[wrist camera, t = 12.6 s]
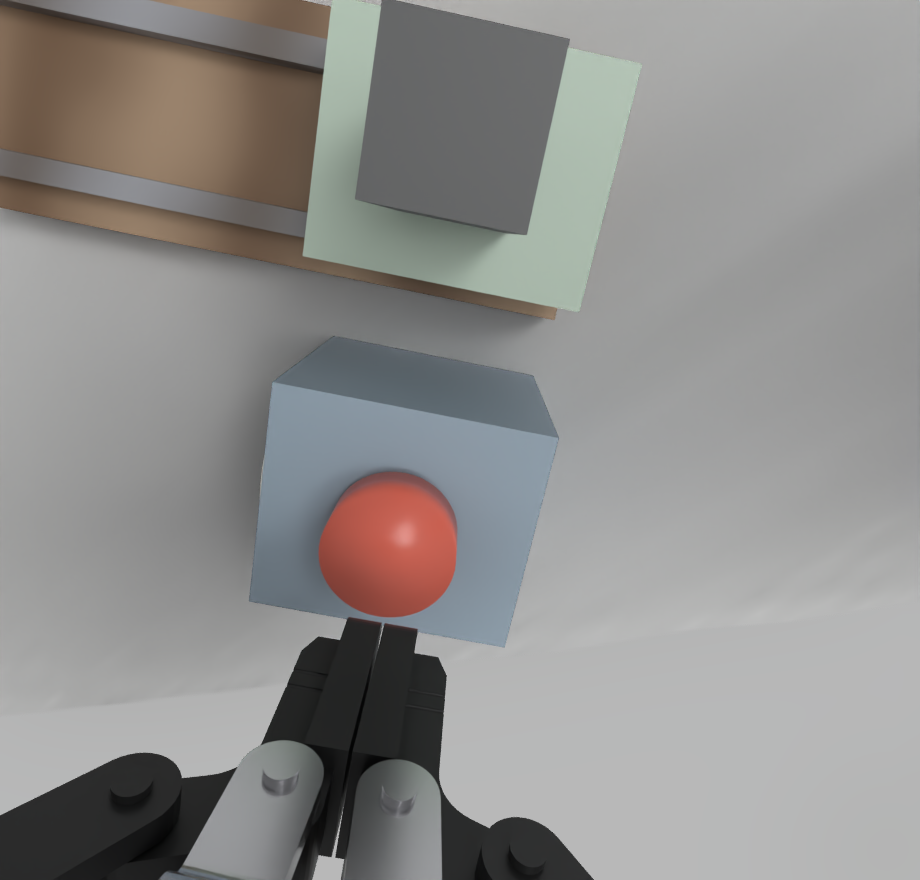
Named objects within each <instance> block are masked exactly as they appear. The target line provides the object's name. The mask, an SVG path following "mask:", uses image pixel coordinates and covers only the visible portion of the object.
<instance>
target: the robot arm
mask: <svg viewBox="0 0 920 880" xmlns="http://www.w3.org/2000/svg"><path fill="white" fill-rule="evenodd" d="M381 628H382V623H381V622H376V621H370V620H364V619H359V618H353V617H348V619H347V622H346V625H345V628H344V630H343V633H342V636H341V639H340V640H335V639H329V638H324V637H317V638H316V639H315V640H314V641H313V642H311V643H310V644H309V645H308V646H307V647H305V648H304V649H303V650H302V651H301V653H300V656H299V658H298V660H297V663H296V665H295V667H294V671H293V672H292V674H291V677H290V679H289V681H288V684H287V687H286V688H285V691H284V693H283V695H282V698H281V700H280V702H279V705H278V707H277V710H276V711H275V714H274V716H273V719H272V721H271V723H270V725H269V728H268V730H267V733H266V735H265V737H264V740H263V742H262V744H261V745H260V746H258V747H257V748H255V749H253V750H252V751H251V752H249V753H248V754H247V755H246V756H245V757H244V758H243V759H242V761H241V763H240V764H239V766H238V767H236V768H234V769H232V770H229V771H226V772H223V773H220V774H214V775H208V776H199V777H190V778H182V776H181V773H180V770H179V769H178V767H177V765H176V764H175V763H174V762H173V761H171V760H170V759H168V758H167V757H164V756H162V755H158V754H153V753H135V754H130V755H126V756H122V757H119V758H117V759H115V760H112V761H110V762H108V763H106V764H104V765H102V766H100V767H98V768H96V769H94V770H92V771H90V772H88V773H86V774H84V775H81V776H80V777H78V778H75V779H73V780H71V781H69V782H67V783H65V784H63V785H61V786H59V787H57V788H55V789H53V790H51V791H49V792H47V793H45V794H43V795H41V796H39V797H37V798H35V799H33V800H31V801H29V802H27V803H24V804H22V805H20V806H18V807H16V808H14V809H12V810H10V811H8V812H6V813H4V814H2V815H0V880H312V878H313V874H314V871H315V867H316V863H317V859H318V855H321V856H328V857H331V856H332V852H333V849H334V844H335V840H336V836H337V832H338V828H339V824H340V819H341V815H342V820H341V827H340V832H339V838H338V845H337V851H336V858H341V859H344V864H343V870H342V876H341V880H593V878H592V877H591V876H590V875H589V874H588V872H586V870H585V869H584V868H583V867H582V866H581V864H580V863H579V862H578V861H577V860H576V858H575V857H574V856H573V855H572V854H571V853H570V851H569V850H568V849H567V848H566V847H565V846H564V844H563V843H562V842H561V841H560V840H559V839H558V837H557V836H555V834H554V833H553V832H551V831H550V830H549V829H548V828H546V827H545V826H543V825H542V824H540V823H538V822H535V821H533V820H530V819H526V818H520V817H511V818H506V819H503V820H500V821H498V822H496V823H495V824H494V825H492V826H491V827H490V828H487V827H486V826H483V825H481V824H479V823H477V822H475V821H473V820H471V819H469V818H468V817H466V816H464V815H463V814H462V813H460V812H459V811H457V810H456V809H455V808H454V807H453V806H452V805H451V803H450V802H449V801H448V799H447V798H446V796H445V795H444V793H443V791H442V788H441V785H440V781H439V766H440V753H441V741H442V727H443V712H444V702H445V688H446V677H447V675H446V673H445V671H444V669H443V667H442V665H441V663H440V661H439V658H438V657H433V656H427V655H421V654H415V653H414V650H415V644H416V638H417V631H418V629H416V628H410V627H405V626H399V625H393V624H388V623H385V624H384V628H383V632H382V636H381V640H380V634H381ZM379 640H380V644H379ZM378 646H379V648H378ZM343 807H344V808H343ZM342 811H343V814H342Z"/></svg>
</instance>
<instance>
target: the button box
mask: <svg viewBox="0 0 920 880" xmlns="http://www.w3.org/2000/svg"><path fill="white" fill-rule="evenodd" d="M558 440H559V437H558V435H557V432H556V430H555V427H554V425H553V423H552V420H551V418H550V415H549V413H548V410H547V408H546V406H545V403H544V401H543V398H542V396H541V393H540V391H539V389H538V386H537V384H536V381H535V379H534V376H532V375H527V374H522V373H517V372H512V371H507V370H502V369H497V368H492V367H487V366H482V365H477V364H472V363H467V362H462V361H457V360H452V359H447V358H442V357H437V356H432V355H427V354H422V353H417V352H412V351H407V350H402V349H397V348H391V347H386V346H381V345H376V344H371V343H366V342H361V341H356V340H351V339H346V338H341V337H336V336H333V337H332V338H330V339H329V340H328V341H326V342H325V343H324V344H322V345H321V346H320V347H318V348H317V349H316V350H314V351H313V352H312V353H310V354H309V355H308V356H306V357H305V358H304V359H302V360H301V361H300V362H299V363H297V364H296V365H295V366H293V367H292V368H291V369H289V370H288V371H287V372H285V373H284V374H283V375H281V376H280V377H279V378H277V379H276V380H275V381H273V382H272V391H271V400H270V409H269V419H268V428H267V437H266V447H265V454H264V459H263V465H262V472H261V480H260V503H259V512H258V522H257V531H256V541H255V550H254V559H253V569H252V578H251V588H250V597H249V601H250V602H255V603H261V604H266V605H272V606H277V607H283V608H288V609H294V610H300V611H305V612H311V613H316V614H322V615H327V616H333V617H338V618H344V619H348V617H353V618H359V619H364V620H370V621H376V622H381V623H382V625H383V626H384V624H385V623H388V624H393V625H399V626H405V627H410V628H416V629H418V631H417V632H421V633H427V634H432V635H438V636H443V637H449V638H455V639H460V640H466V641H471V642H477V643H482V644H488V645H493V646H499V647H504V648H505V644H506V640H507V636H508V632H509V628H510V625H511V621H512V617H513V613H514V609H515V605H516V601H517V598H518V594H519V590H520V586H521V582H522V578H523V574H524V571H525V567H526V563H527V559H528V555H529V551H530V547H531V544H532V540H533V536H534V532H535V528H536V524H537V520H538V517H539V513H540V509H541V505H542V501H543V497H544V494H545V490H546V486H547V482H548V478H549V474H550V470H551V467H552V463H553V459H554V455H555V451H556V447H557V443H558ZM382 472H402V473H407V474H411V475H415V476H417V477H420V478H422V479H424V480H426V481H428V482H429V483H431V484H432V485H433V486H435V487H436V488H437V489H438V490H439V491H440V492H441V493H442V494H443V495H444V496H445V497H446V499H447V500H448V502H449V503H450V505H451V507H452V509H453V511H454V514H455V517H456V521H457V553H456V566H455V572H454V575H453V578H452V581H451V583H450V585H449V587H448V588H447V590H446V591H445V593H444V594H443V595H442V596H441V597H440V598H439V599H438V600H437V601H436V602H435V603H433V604H432V605H431V606H429V607H428V608H426V609H424V610H422V611H420V612H417V613H414V614H412V615H407V616H403V617H378V616H373V615H369V614H366V613H363V612H361V611H358V610H356V609H354V608H352V607H351V606H349V605H348V604H346V603H345V602H344V601H342V600H341V599H340V598H339V597H338V596H337V595H336V594H335V593H334V592H333V591H332V590H331V588H330V587H329V585H328V584H327V582H326V580H325V578H324V576H323V574H322V571H321V568H320V563H319V554H318V553H319V543H320V539H321V535H322V533H323V530H324V528H325V526H326V524H327V522H328V520H329V518H330V516H331V514H332V512H333V510H334V508H335V506H336V504H337V503H338V501H339V499H340V497H341V496H342V495H343V493H344V492H345V491H346V490H347V489H348V488H349V487H350V486H352V485H353V484H354V483H356V482H357V481H359V480H361V479H362V478H364V477H367V476H370V475H373V474H377V473H382Z"/></svg>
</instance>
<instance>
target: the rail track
mask: <svg viewBox="0 0 920 880" xmlns="http://www.w3.org/2000/svg"><path fill="white" fill-rule="evenodd" d="M330 13H331V7H330V6H325V5H321V4H316V3H312V2H307V1H303V0H0V208H5V209H10V210H15V211H20V212H25V213H30V214H35V215H39V216H44V217H49V218H54V219H59V220H64V221H69V222H74V223H79V224H84V225H89V226H94V227H99V228H103V229H108V230H113V231H118V232H123V233H128V234H133V235H138V236H143V237H148V238H153V239H158V240H163V241H167V242H172V243H177V244H182V245H187V246H192V247H197V248H202V249H207V250H212V251H217V252H222V253H227V254H231V255H236V256H241V257H246V258H251V259H256V260H261V261H266V262H271V263H276V264H281V265H286V266H291V267H295V268H300V269H305V270H310V271H315V272H320V273H325V274H330V275H335V276H340V277H345V278H350V279H355V280H359V281H364V282H369V283H374V284H379V285H384V286H389V287H394V288H399V289H404V290H409V291H414V292H419V293H423V294H428V295H433V296H438V297H443V298H448V299H453V300H458V301H463V302H468V303H473V304H478V305H483V306H487V307H492V308H497V309H502V310H507V311H512V312H517V313H522V314H527V315H532V316H537V317H542V318H547V319H551V320H555V316H556V311H557V308H555V307H550V306H545V305H540V304H535V303H530V302H525V301H521V300H516V299H511V298H506V297H501V296H496V295H491V294H486V293H481V292H476V291H472V290H467V289H462V288H457V287H452V286H447V285H442V284H437V283H432V282H427V281H422V280H418V279H413V278H408V277H403V276H398V275H393V274H388V273H383V272H378V271H373V270H369V269H364V268H359V267H354V266H349V265H344V264H339V263H334V262H329V261H324V260H320V259H315V258H310V257H305V256H303V248H304V239H305V231H306V222H307V213H308V205H309V196H310V187H311V178H312V170H313V161H314V152H315V144H316V135H317V126H318V117H319V109H320V100H321V91H322V82H323V74H324V65H325V56H326V48H327V39H328V30H329V21H330Z"/></svg>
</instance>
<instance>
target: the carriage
mask: <svg viewBox="0 0 920 880" xmlns="http://www.w3.org/2000/svg"><path fill="white" fill-rule="evenodd" d="M569 41H570V39H567V38H563V37H558V36H554V35H549V34H545V33H540V32H536V31H531V30H527V29H522V28H518V27H513V26H509V25H504V24H500V23H495V22H491V21H486V20H482V19H477V18H473V17H468V16H464V15H459V14H455V13H450V12H446V11H441V10H437V9H432V8H428V7H423V6H419V5H414V4H410V3H405V2H401V1H396V0H382V3H381V6H380V5H375V4H370V3H366V2H361V1H357V0H332V4H331V13H330V21H329V30H328V39H327V48H326V56H325V65H324V74H323V82H322V91H321V100H320V109H319V117H318V126H317V135H316V144H315V152H314V161H313V170H312V178H311V187H310V196H309V205H308V213H307V222H306V231H305V239H304V248H303V256H305V257H310V258H315V259H320V260H324V261H329V262H334V263H339V264H344V265H349V266H354V267H359V268H364V269H369V270H373V271H378V272H383V273H388V274H393V275H398V276H403V277H408V278H413V279H418V280H422V281H427V282H432V283H437V284H442V285H447V286H452V287H457V288H462V289H467V290H472V291H476V292H481V293H486V294H491V295H496V296H501V297H506V298H511V299H516V300H521V301H525V302H530V303H535V304H540V305H545V306H550V307H555V308H560V309H565V310H570V311H574V312H579V311H580V308H581V304H582V300H583V296H584V292H585V288H586V284H587V280H588V276H589V272H590V268H591V264H592V260H593V256H594V252H595V248H596V244H597V240H598V236H599V233H600V229H601V225H602V221H603V217H604V213H605V209H606V205H607V201H608V197H609V193H610V189H611V185H612V181H613V177H614V173H615V169H616V165H617V161H618V158H619V154H620V150H621V146H622V142H623V138H624V134H625V130H626V126H627V122H628V118H629V114H630V110H631V106H632V102H633V98H634V94H635V90H636V87H637V83H638V79H639V75H640V71H641V67H642V64H641V63H637V62H632V61H628V60H623V59H619V58H614V57H610V56H605V55H601V54H596V53H592V52H587V51H583V50H578V49H574V48H569V47H568V45H569Z"/></svg>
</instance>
